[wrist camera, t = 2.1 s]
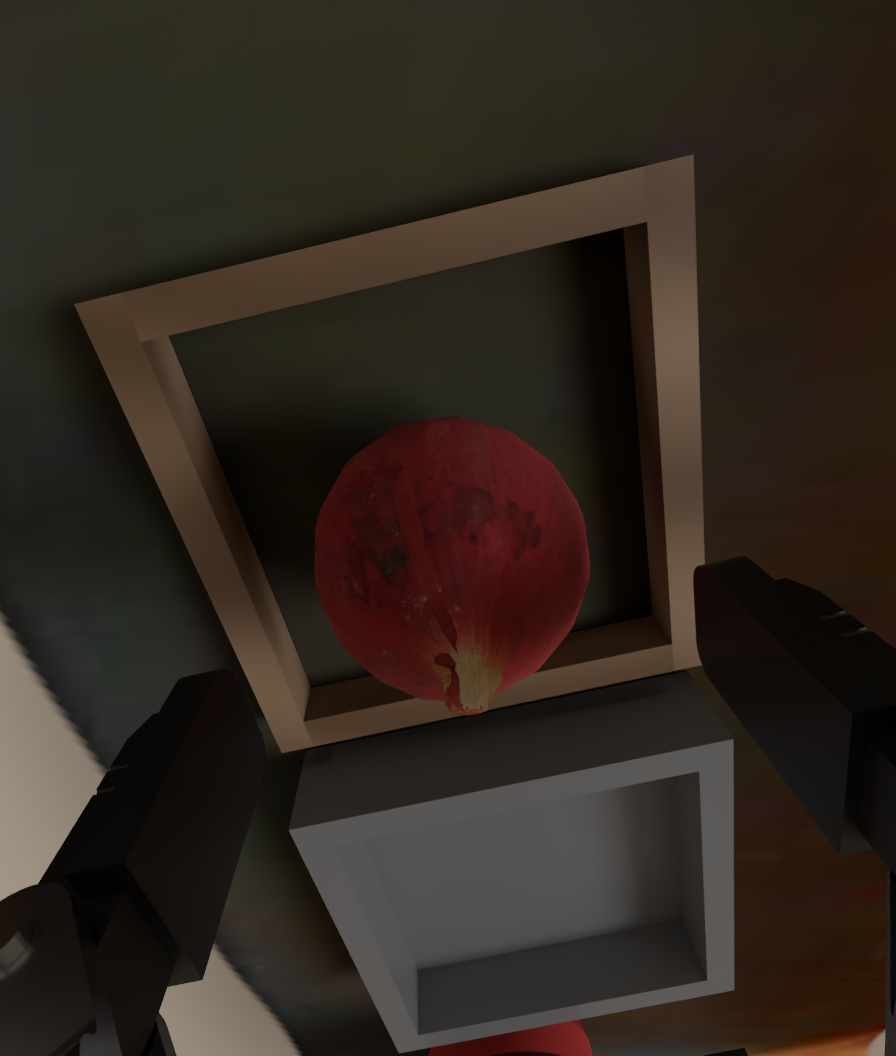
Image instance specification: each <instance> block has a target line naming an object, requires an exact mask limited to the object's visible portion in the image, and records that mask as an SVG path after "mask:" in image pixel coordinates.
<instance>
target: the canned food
mask: <svg viewBox="0 0 896 1056" xmlns="http://www.w3.org/2000/svg"><path fill="white" fill-rule="evenodd" d="M428 1056H593V1055H592V1051H591V1047H590V1042H589V1040H588V1038H587V1036H586V1034H585V1032H584V1029H583V1027H582V1025H581V1023H580V1021H579V1020H573V1021H568V1022H563V1023H558V1024H552V1025H547V1026H542V1027H536V1028H531V1029H526V1030H521V1031H515V1032H510V1033H505V1034H499V1035H494V1036H489V1037H483V1038H478V1039H473V1040H468V1041H462V1042H457V1043H452V1044H446V1045H441V1046H436V1047H431V1048H430V1050H429V1055H428Z"/></svg>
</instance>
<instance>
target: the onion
mask: <svg viewBox="0 0 896 1056" xmlns="http://www.w3.org/2000/svg"><path fill="white" fill-rule="evenodd" d="M589 579H590V558H589V551H588V544H587V536H586V529H585V522H584V516H583V514H582V512H581V509H580V507H579V504H578V502H577V500H576V499H575V497H574V495H573V494H572V492H571V491H570V489H569V488H568V486H567V484H566V483H565V481H564V480H563V478H562V477H561V475H560V473H559V472H558V470H557V469H556V467H555V466H554V464H553V463H552V462H551V461H549V460H548V459H547V458H545V457H544V456H543V455H541V454H540V453H539V452H537V451H536V450H535V449H533V448H532V447H531V446H529V445H528V444H527V443H525V442H524V441H523V440H521V439H520V438H519V437H517V436H516V435H515V434H513V433H511V432H510V431H508V430H506V429H504V428H500V427H496V426H492V425H488V424H484V423H480V422H476V421H472V420H468V419H464V418H460V417H456V416H452V417H445V418H438V419H431V420H424V421H417V422H410V423H403V424H399V425H398V426H396V427H395V428H393V429H392V430H390V431H389V432H387V433H386V434H384V435H383V436H381V437H380V438H378V439H377V440H375V441H374V442H373V443H371V444H370V445H368V446H367V447H365V448H364V449H362V450H361V451H359V452H358V453H356V454H355V455H354V456H353V457H352V458H351V459H350V460H349V461H348V462H347V463H346V464H345V466H344V467H343V469H342V471H341V473H340V475H339V476H338V478H337V480H336V482H335V484H334V485H333V487H332V489H331V491H330V493H329V494H328V496H327V498H326V500H325V502H324V503H323V505H322V507H321V509H320V511H319V512H318V518H317V524H316V530H315V583H316V587H317V591H318V596H319V598H320V601H321V603H322V605H323V608H324V610H325V612H326V615H327V617H328V620H329V622H330V624H331V627H332V629H333V631H334V634H335V636H336V638H337V639H338V641H339V642H340V644H341V645H342V646H343V648H344V649H345V650H346V651H347V652H348V653H349V654H350V655H351V656H352V657H354V658H355V659H356V660H357V661H358V662H359V663H360V664H361V665H362V666H363V667H364V668H366V669H367V670H368V671H369V672H370V673H371V674H372V675H373V676H374V677H375V678H377V679H378V680H380V681H382V682H383V683H385V684H387V685H389V686H392V687H394V688H397V689H399V690H401V691H404V692H406V693H408V694H410V695H412V696H414V697H416V698H419V699H422V700H436V701H445V704H446V706H447V708H448V709H449V711H450V713H452V714H460V715H476V714H479V713H482V712H485V711H487V709H488V706H489V703H490V701H491V698H492V695H493V694H495V693H499V692H501V691H503V690H504V689H506V688H508V687H510V686H511V685H513V684H515V683H517V682H518V681H520V680H522V679H524V678H525V677H527V676H529V675H531V674H532V673H534V672H535V671H537V670H539V669H540V667H541V666H542V665H543V664H544V662H545V661H546V660H547V659H548V658H549V656H550V655H551V654H552V653H553V652H554V650H555V649H556V648H557V647H558V645H559V644H560V643H561V642H562V641H563V639H564V638H565V637H566V636H567V634H568V633H569V631H570V630H571V628H572V626H573V625H574V623H575V620H576V617H577V614H578V611H579V608H580V605H581V602H582V599H583V596H584V594H585V591H586V588H587V585H588V582H589Z"/></svg>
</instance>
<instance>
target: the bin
mask: <svg viewBox="0 0 896 1056" xmlns="http://www.w3.org/2000/svg"><path fill="white" fill-rule="evenodd" d="M289 832H290V834H291V836H292V838H293V840H294V842H295V844H296V846H297V848H298V850H299V852H300V854H301V856H302V858H303V860H304V862H305V864H306V866H307V868H308V870H309V873H310V875H311V877H312V879H313V881H314V883H315V885H316V887H317V889H318V891H319V893H320V895H321V897H322V899H323V901H324V903H325V905H326V907H327V909H328V911H329V913H330V915H331V917H332V919H333V921H334V923H335V925H336V927H337V929H338V931H339V933H340V935H341V937H342V939H343V941H344V943H345V945H346V947H347V949H348V951H349V953H350V955H351V957H352V959H353V961H354V963H355V965H356V967H357V969H358V971H359V974H360V976H361V978H362V980H363V982H364V984H365V986H366V988H367V990H368V992H369V994H370V996H371V998H372V1000H373V1002H374V1004H375V1006H376V1008H377V1010H378V1012H379V1014H380V1016H381V1018H382V1020H383V1022H384V1024H385V1026H386V1028H387V1030H388V1032H389V1034H390V1036H391V1038H392V1040H393V1042H394V1044H395V1046H396V1048H397V1050H398V1052H399V1053H404V1052H409V1051H415V1050H420V1049H425V1048H431V1047H436V1046H441V1045H446V1044H452V1043H457V1042H462V1041H468V1040H473V1039H478V1038H483V1037H489V1036H494V1035H499V1034H505V1033H510V1032H515V1031H521V1030H526V1029H531V1028H536V1027H542V1026H547V1025H552V1024H558V1023H563V1022H568V1021H573V1020H579V1019H584V1018H589V1017H595V1016H600V1015H605V1014H610V1013H616V1012H621V1011H626V1010H632V1009H637V1008H642V1007H647V1006H653V1005H658V1004H663V1003H669V1002H674V1001H679V1000H685V999H690V998H695V997H700V996H706V995H711V994H716V993H722V992H727V991H732V990H734V765H733V738H732V736H731V735H730V733H729V732H728V730H727V729H726V727H725V726H724V725H723V723H722V722H721V720H720V719H719V717H718V716H717V714H716V713H715V711H714V710H713V708H712V707H711V705H710V704H709V702H708V701H707V700H706V698H705V697H704V695H703V694H702V692H701V691H700V689H699V688H698V686H697V685H696V683H695V682H694V680H693V679H692V677H691V676H690V675H689V673H688V672H687V671H684V672H679V673H674V674H669V675H665V676H660V677H655V678H650V679H646V680H641V681H636V682H631V683H626V684H622V685H617V686H612V687H607V688H603V689H598V690H593V691H588V692H584V693H579V694H574V695H569V696H564V697H560V698H555V699H550V700H545V701H541V702H536V703H531V704H526V705H521V706H517V707H512V708H507V709H502V710H498V711H493V712H488V713H483V714H479V715H474V716H469V717H464V718H459V719H455V720H450V721H445V722H440V723H436V724H431V725H426V726H421V727H416V728H412V729H407V730H402V731H397V732H393V733H388V734H383V735H378V736H374V737H369V738H364V739H359V740H354V741H350V742H345V743H340V744H335V745H331V746H326V747H321V748H316V749H311V750H307V751H305V756H304V761H303V765H302V770H301V775H300V779H299V784H298V789H297V793H296V798H295V803H294V807H293V812H292V816H291V821H290V826H289Z"/></svg>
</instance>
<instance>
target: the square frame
mask: <svg viewBox="0 0 896 1056" xmlns="http://www.w3.org/2000/svg"><path fill="white" fill-rule="evenodd" d="M619 228H623V232H624V245H625V259H626V272H627V285H628V299H629V312H630V325H631V338H632V352H633V365H634V378H635V392H636V405H637V418H638V431H639V445H640V458H641V471H642V485H643V498H644V511H645V524H646V538H647V551H648V564H649V578H650V591H651V604H652V615H650V616H646V617H641V618H636V619H632V620H627V621H622V622H618V623H613V624H608V625H604V626H599V627H594V628H590V629H585V630H580V631H576V632H571V633H568V634H567V636H566V637H565V638H564V639H563V641H562V642H561V643H560V644H559V645H558V647H557V648H556V649H555V650H554V652H553V653H552V654H551V655H550V656H549V658H548V659H547V660H546V661H545V662H544V664H543V665H542V666H541V667H540V669H539V670H537V671H535V672H534V673H532V674H531V675H529V676H527V677H525V678H524V679H522V680H520V681H518V682H517V683H515V684H513V685H511V686H510V687H508V688H506V689H504V690H503V691H501V692H499V693H495V694H493V695H492V698H491V701H490V703H489V706H488V709H487V710H490V709H495V708H500V707H504V706H509V705H514V704H519V703H523V702H528V701H533V700H538V699H542V698H547V697H552V696H557V695H562V694H566V693H571V692H576V691H581V690H585V689H590V688H595V687H600V686H604V685H609V684H614V683H619V682H624V681H628V680H633V679H638V678H643V677H647V676H652V675H657V674H662V673H666V672H671V671H676V670H681V669H686V668H690V667H695V666H700V665H702V664H701V661H700V658H699V654H698V650H697V644H696V627H695V608H694V588H693V574H694V570H695V568H696V567H697V566H699V565H704V564H705V560H704V523H703V486H702V450H701V413H700V377H699V340H698V303H697V267H696V230H695V193H694V157H693V155H689V156H685V157H681V158H677V159H673V160H669V161H665V162H660V163H656V164H652V165H648V166H644V167H640V168H636V169H632V170H627V171H623V172H619V173H615V174H611V175H607V176H603V177H598V178H594V179H590V180H586V181H582V182H578V183H574V184H569V185H565V186H561V187H557V188H553V189H549V190H545V191H540V192H536V193H532V194H528V195H524V196H520V197H516V198H511V199H507V200H503V201H499V202H495V203H491V204H487V205H483V206H478V207H474V208H470V209H466V210H462V211H458V212H454V213H449V214H445V215H441V216H437V217H433V218H429V219H425V220H420V221H416V222H412V223H408V224H404V225H400V226H396V227H391V228H387V229H383V230H379V231H375V232H371V233H367V234H363V235H358V236H354V237H350V238H346V239H342V240H338V241H334V242H329V243H325V244H321V245H317V246H313V247H309V248H305V249H300V250H296V251H292V252H288V253H284V254H280V255H276V256H271V257H267V258H263V259H259V260H255V261H251V262H247V263H243V264H238V265H234V266H230V267H226V268H222V269H218V270H214V271H209V272H205V273H201V274H197V275H193V276H189V277H185V278H180V279H176V280H172V281H168V282H164V283H160V284H156V285H151V286H147V287H143V288H139V289H135V290H131V291H127V292H123V293H118V294H114V295H110V296H106V297H102V298H98V299H94V300H89V301H85V302H81V303H77V304H74V305H75V308H76V310H77V312H78V314H79V316H80V318H81V320H82V323H83V325H84V327H85V329H86V331H87V333H88V336H89V338H90V340H91V342H92V344H93V346H94V349H95V351H96V353H97V355H98V357H99V359H100V362H101V364H102V366H103V368H104V370H105V372H106V374H107V377H108V379H109V381H110V383H111V385H112V387H113V390H114V392H115V394H116V396H117V398H118V400H119V403H120V405H121V407H122V409H123V411H124V413H125V416H126V418H127V420H128V422H129V424H130V426H131V428H132V431H133V433H134V435H135V437H136V439H137V441H138V444H139V446H140V448H141V450H142V452H143V454H144V457H145V459H146V461H147V463H148V465H149V467H150V469H151V472H152V474H153V476H154V478H155V480H156V482H157V485H158V487H159V489H160V491H161V493H162V495H163V498H164V500H165V502H166V504H167V506H168V508H169V511H170V513H171V515H172V517H173V519H174V521H175V523H176V526H177V528H178V530H179V532H180V534H181V536H182V539H183V541H184V543H185V545H186V547H187V549H188V552H189V554H190V556H191V558H192V560H193V562H194V565H195V567H196V569H197V571H198V573H199V575H200V577H201V580H202V582H203V584H204V586H205V588H206V590H207V593H208V595H209V597H210V599H211V601H212V603H213V606H214V608H215V610H216V612H217V614H218V616H219V619H220V621H221V623H222V625H223V627H224V629H225V631H226V634H227V636H228V638H229V640H230V642H231V644H232V647H233V649H234V651H235V653H236V655H237V657H238V660H239V662H240V664H241V666H242V668H243V670H244V672H245V675H246V677H247V679H248V681H249V683H250V685H251V688H252V690H253V692H254V694H255V696H256V698H257V701H258V703H259V705H260V707H261V709H262V711H263V714H264V716H265V718H266V720H267V722H268V724H269V726H270V729H271V731H272V733H273V735H274V737H275V739H276V742H277V744H278V746H279V748H280V750H281V752H282V753H285V752H290V751H295V750H299V749H304V748H309V747H314V746H318V745H323V744H328V743H333V742H337V741H342V740H347V739H352V738H357V737H361V736H366V735H371V734H376V733H380V732H385V731H390V730H395V729H399V728H404V727H409V726H414V725H419V724H423V723H428V722H433V721H438V720H442V719H447V718H452V717H457V716H461V715H460V714H452V713H450V711H449V709H448V708H447V706H446V704H445V701H436V700H422V699H419V698H416V697H414V696H412V695H410V694H408V693H406V692H404V691H401V690H399V689H397V688H394V687H392V686H389V685H387V684H385V683H383V682H382V681H380V680H378V679H377V678H375V677H374V676H373V675H369V676H365V677H360V678H355V679H351V680H346V681H341V682H337V683H332V684H327V685H323V686H318V687H313V688H311V686H310V684H309V681H308V679H307V676H306V674H305V671H304V669H303V666H302V664H301V661H300V659H299V657H298V654H297V652H296V649H295V647H294V644H293V642H292V639H291V637H290V634H289V632H288V629H287V627H286V625H285V622H284V620H283V617H282V615H281V612H280V610H279V607H278V605H277V602H276V600H275V597H274V595H273V592H272V590H271V588H270V585H269V583H268V580H267V578H266V575H265V573H264V570H263V568H262V565H261V563H260V560H259V558H258V556H257V553H256V551H255V548H254V546H253V543H252V541H251V538H250V536H249V533H248V531H247V528H246V526H245V524H244V521H243V519H242V516H241V514H240V511H239V509H238V506H237V504H236V501H235V499H234V496H233V494H232V492H231V489H230V487H229V484H228V482H227V479H226V477H225V474H224V472H223V469H222V467H221V464H220V462H219V460H218V457H217V455H216V452H215V450H214V447H213V445H212V442H211V440H210V437H209V435H208V432H207V430H206V428H205V425H204V423H203V420H202V418H201V415H200V413H199V410H198V408H197V405H196V403H195V400H194V398H193V396H192V393H191V391H190V388H189V386H188V383H187V381H186V378H185V376H184V373H183V371H182V368H181V366H180V364H179V361H178V359H177V356H176V354H175V351H174V349H173V346H172V344H171V341H170V339H169V335H173V334H178V333H182V332H186V331H190V330H194V329H199V328H203V327H207V326H211V325H215V324H220V323H224V322H228V321H232V320H236V319H241V318H245V317H249V316H253V315H257V314H262V313H266V312H270V311H274V310H278V309H283V308H287V307H291V306H295V305H299V304H304V303H308V302H312V301H316V300H320V299H325V298H329V297H333V296H337V295H341V294H346V293H350V292H354V291H358V290H362V289H367V288H371V287H375V286H379V285H383V284H388V283H392V282H396V281H400V280H404V279H409V278H413V277H417V276H421V275H425V274H430V273H434V272H438V271H442V270H446V269H451V268H455V267H459V266H463V265H467V264H472V263H476V262H480V261H484V260H488V259H493V258H497V257H501V256H505V255H509V254H514V253H518V252H522V251H526V250H530V249H535V248H539V247H543V246H547V245H551V244H556V243H560V242H564V241H568V240H572V239H577V238H581V237H585V236H589V235H593V234H598V233H602V232H606V231H610V230H614V229H619Z"/></svg>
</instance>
